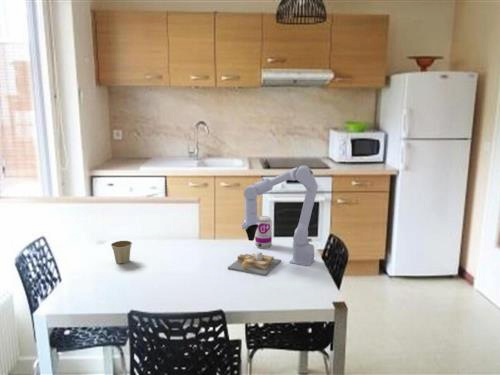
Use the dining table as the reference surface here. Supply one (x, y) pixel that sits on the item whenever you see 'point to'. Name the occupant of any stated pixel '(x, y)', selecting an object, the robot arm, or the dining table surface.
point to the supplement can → (264, 232)
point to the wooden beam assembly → (256, 261)
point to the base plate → (243, 268)
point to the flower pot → (121, 251)
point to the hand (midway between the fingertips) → (251, 240)
